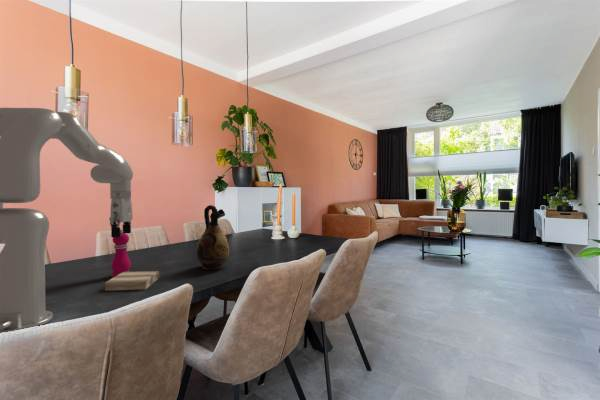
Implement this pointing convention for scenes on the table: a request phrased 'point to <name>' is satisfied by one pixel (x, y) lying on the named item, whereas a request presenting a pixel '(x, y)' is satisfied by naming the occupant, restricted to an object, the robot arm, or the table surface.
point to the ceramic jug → (212, 242)
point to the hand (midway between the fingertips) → (121, 235)
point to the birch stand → (132, 280)
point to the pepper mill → (120, 254)
